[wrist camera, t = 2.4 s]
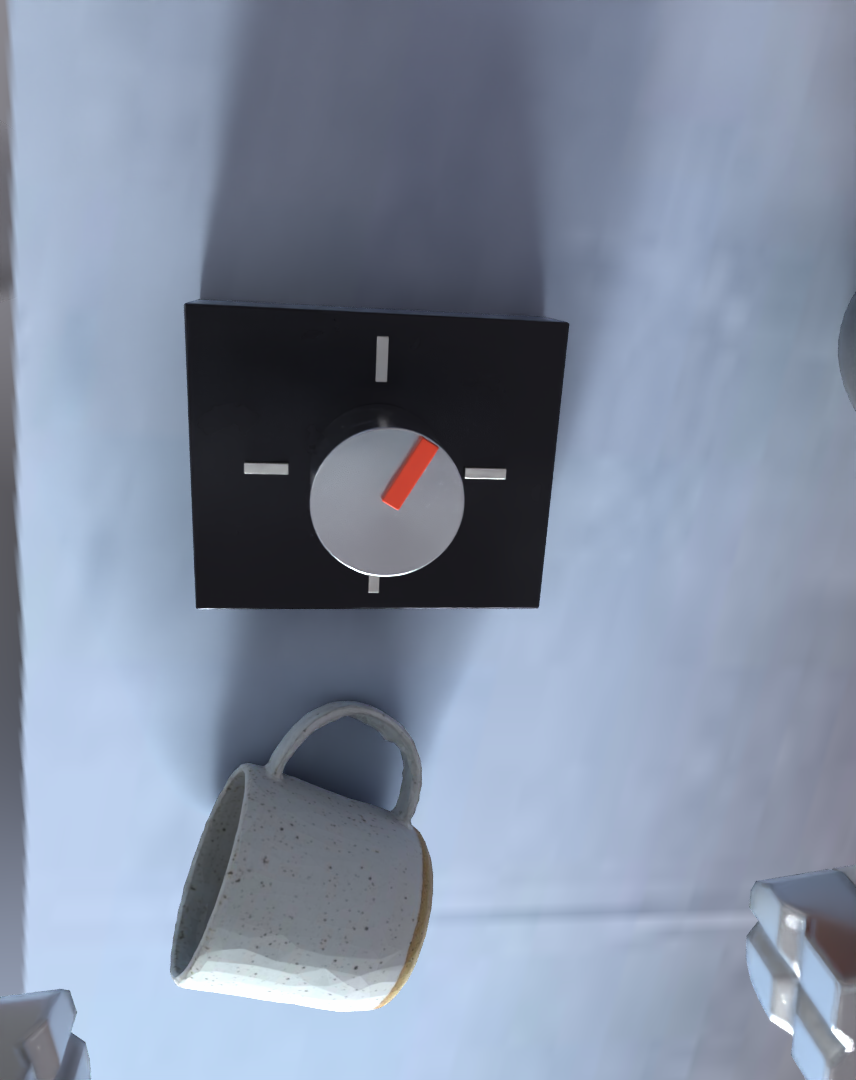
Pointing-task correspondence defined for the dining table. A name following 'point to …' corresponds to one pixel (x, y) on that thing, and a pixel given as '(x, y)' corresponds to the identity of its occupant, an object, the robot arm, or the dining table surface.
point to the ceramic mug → (307, 884)
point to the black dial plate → (336, 387)
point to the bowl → (848, 351)
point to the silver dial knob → (384, 491)
